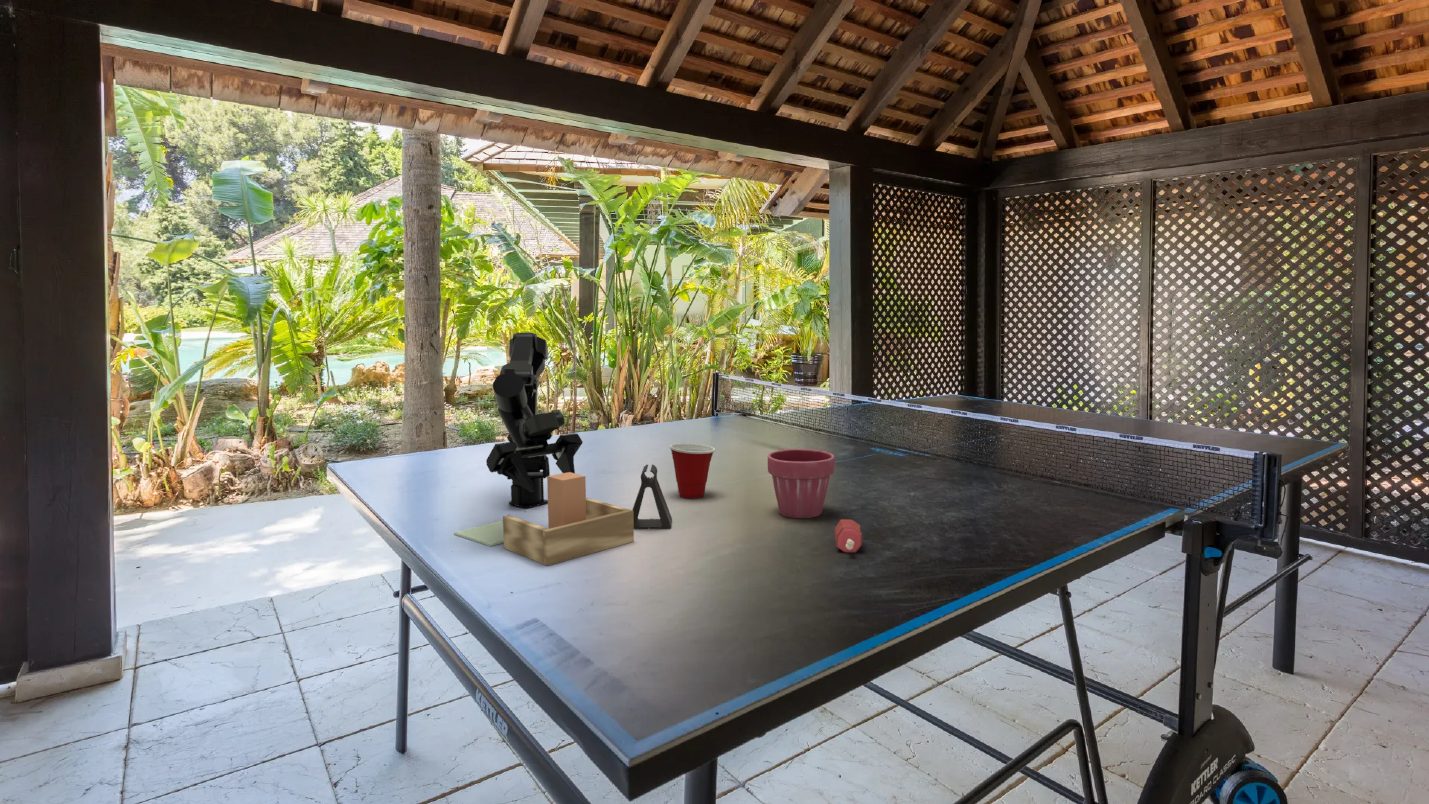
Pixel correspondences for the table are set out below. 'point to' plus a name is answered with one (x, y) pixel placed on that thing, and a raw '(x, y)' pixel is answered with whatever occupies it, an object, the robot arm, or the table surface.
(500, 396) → the robot arm
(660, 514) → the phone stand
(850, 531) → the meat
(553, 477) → the block
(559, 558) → the u-shaped frame
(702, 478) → the plastic cup
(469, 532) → the mat
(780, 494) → the plant pot
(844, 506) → the table surface
